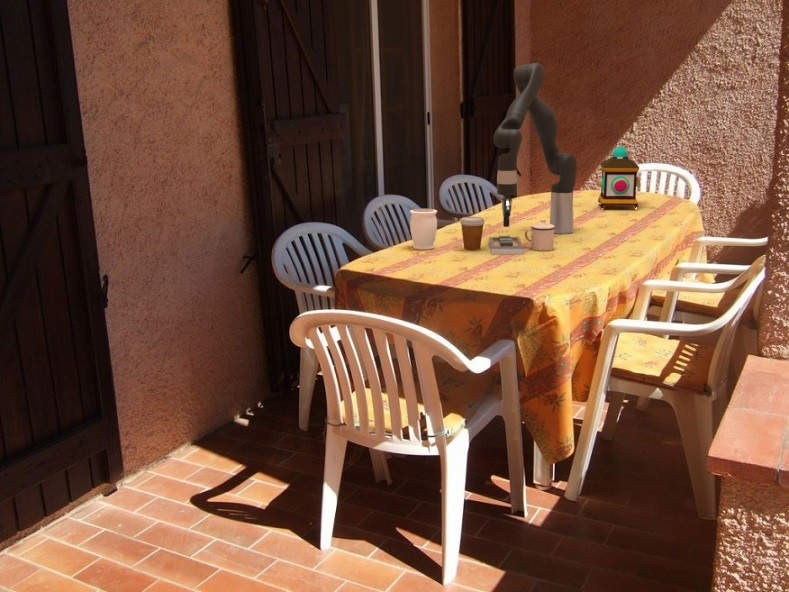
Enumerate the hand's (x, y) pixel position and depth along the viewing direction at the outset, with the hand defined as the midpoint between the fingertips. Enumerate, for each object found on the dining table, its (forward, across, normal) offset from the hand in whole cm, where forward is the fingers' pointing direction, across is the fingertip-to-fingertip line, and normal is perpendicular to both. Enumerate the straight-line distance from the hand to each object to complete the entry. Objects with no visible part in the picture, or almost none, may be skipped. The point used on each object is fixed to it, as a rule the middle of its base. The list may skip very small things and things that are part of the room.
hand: (506, 226), depth 342 cm
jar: (+9, +2, +32) cm, 34 cm away
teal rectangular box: (+6, -1, 0) cm, 6 cm away
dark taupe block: (+6, -6, 0) cm, 8 cm away
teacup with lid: (+9, 0, -13) cm, 16 cm away
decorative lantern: (+10, +94, -62) cm, 113 cm away
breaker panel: (+9, -1, 0) cm, 9 cm away
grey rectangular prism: (+6, +4, 0) cm, 7 cm away
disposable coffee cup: (+9, 0, +13) cm, 16 cm away
